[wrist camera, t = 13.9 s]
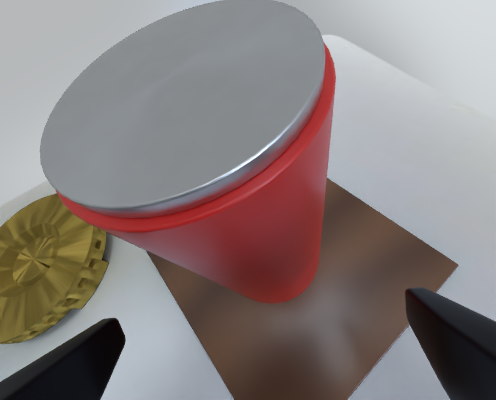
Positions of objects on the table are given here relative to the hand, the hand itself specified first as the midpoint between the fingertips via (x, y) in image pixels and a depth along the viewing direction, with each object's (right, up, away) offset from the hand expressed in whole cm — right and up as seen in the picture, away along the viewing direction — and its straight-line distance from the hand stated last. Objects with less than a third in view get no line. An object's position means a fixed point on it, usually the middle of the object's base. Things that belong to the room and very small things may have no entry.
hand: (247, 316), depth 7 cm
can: (+2, 0, +9) cm, 9 cm away
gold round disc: (-17, -2, +14) cm, 22 cm away
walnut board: (+2, 0, +9) cm, 9 cm away
